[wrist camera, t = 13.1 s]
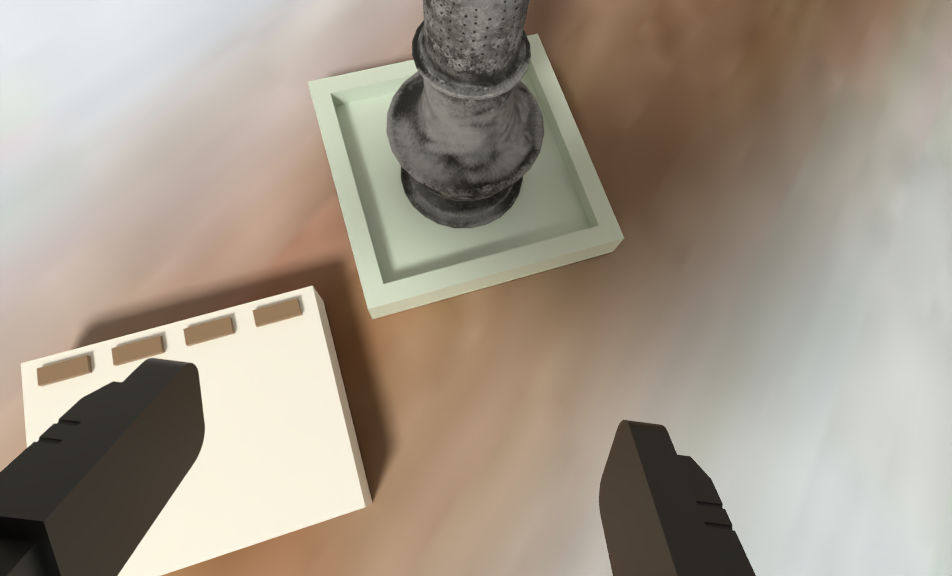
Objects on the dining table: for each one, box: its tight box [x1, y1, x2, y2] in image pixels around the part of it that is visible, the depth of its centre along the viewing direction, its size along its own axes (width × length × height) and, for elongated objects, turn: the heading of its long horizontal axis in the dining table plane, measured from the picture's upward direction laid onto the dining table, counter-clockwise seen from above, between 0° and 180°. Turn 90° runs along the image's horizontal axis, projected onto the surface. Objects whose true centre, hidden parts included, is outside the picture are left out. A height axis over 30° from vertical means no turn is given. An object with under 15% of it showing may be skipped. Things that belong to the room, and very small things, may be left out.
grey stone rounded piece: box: [386, 0, 544, 228], centre depth 18 cm, size 6×6×12 cm
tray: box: [308, 34, 624, 319], centre depth 24 cm, size 11×11×2 cm
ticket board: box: [21, 286, 372, 576], centre depth 19 cm, size 10×8×2 cm
